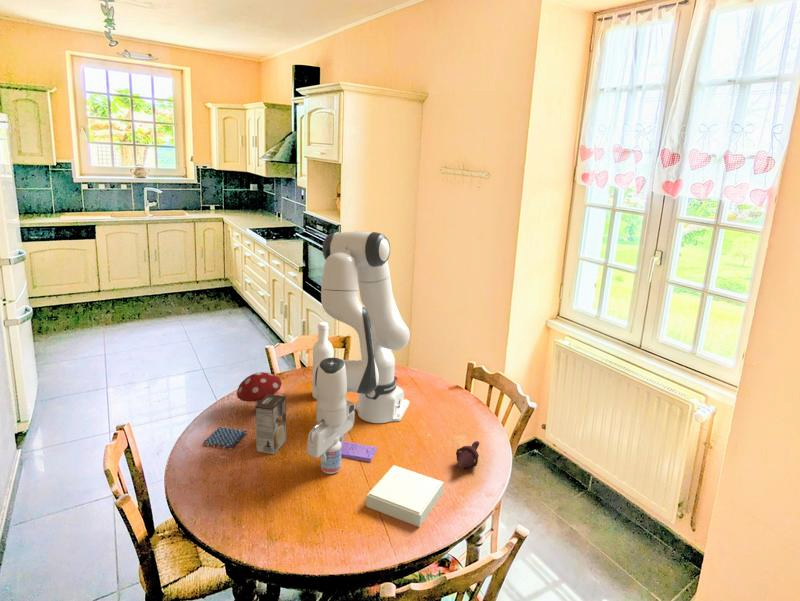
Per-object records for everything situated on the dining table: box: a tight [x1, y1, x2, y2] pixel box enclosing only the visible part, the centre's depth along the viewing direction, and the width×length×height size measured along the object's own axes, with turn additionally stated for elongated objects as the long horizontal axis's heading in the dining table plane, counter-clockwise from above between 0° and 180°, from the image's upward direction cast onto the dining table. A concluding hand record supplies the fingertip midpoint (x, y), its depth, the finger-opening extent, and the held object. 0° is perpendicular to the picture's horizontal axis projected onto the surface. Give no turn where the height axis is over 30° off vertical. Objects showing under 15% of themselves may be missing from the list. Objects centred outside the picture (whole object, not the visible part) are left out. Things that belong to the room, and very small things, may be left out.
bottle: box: [311, 321, 334, 401], centre depth 194 cm, size 8×8×30 cm
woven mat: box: [203, 426, 248, 451], centre depth 166 cm, size 10×11×2 cm
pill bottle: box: [320, 436, 342, 475], centre depth 152 cm, size 6×6×11 cm
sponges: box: [341, 440, 378, 463], centre depth 163 cm, size 7×13×2 cm, turn 77°
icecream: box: [455, 440, 480, 470], centre depth 158 cm, size 7×7×15 cm
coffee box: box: [254, 394, 287, 455], centre depth 162 cm, size 9×6×16 cm
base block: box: [365, 464, 445, 528], centre depth 141 cm, size 16×16×4 cm
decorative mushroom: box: [236, 371, 283, 406], centre depth 182 cm, size 16×16×15 cm
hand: (331, 454), depth 152 cm, fingers closed on pill bottle, 6 cm apart
